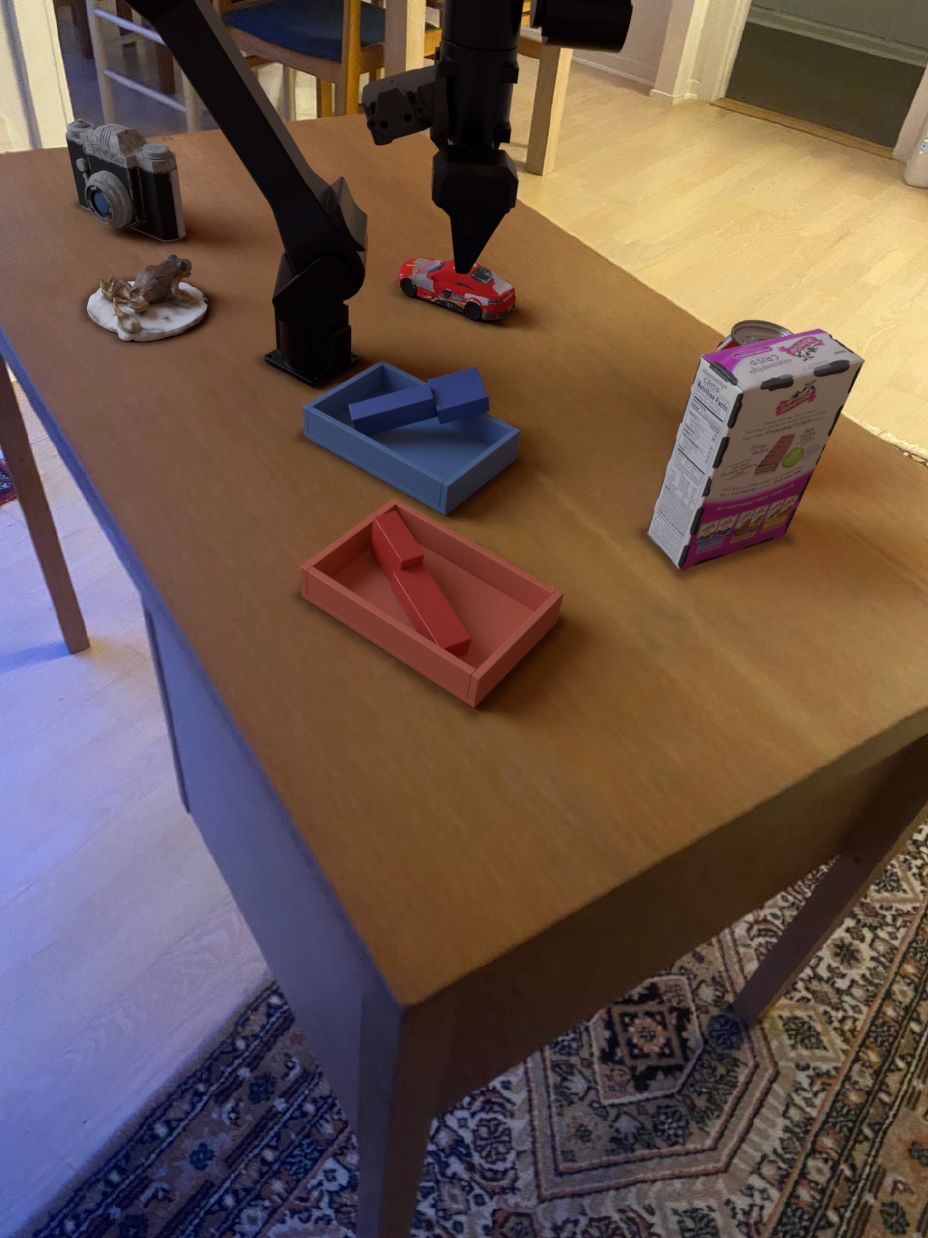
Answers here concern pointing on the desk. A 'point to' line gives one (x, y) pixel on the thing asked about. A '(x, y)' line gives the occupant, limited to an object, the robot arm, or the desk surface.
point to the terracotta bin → (470, 581)
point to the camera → (126, 179)
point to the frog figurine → (149, 302)
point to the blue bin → (412, 442)
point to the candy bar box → (750, 444)
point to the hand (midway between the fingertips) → (459, 247)
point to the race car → (458, 287)
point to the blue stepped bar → (423, 403)
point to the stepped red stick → (416, 585)
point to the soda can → (752, 333)
